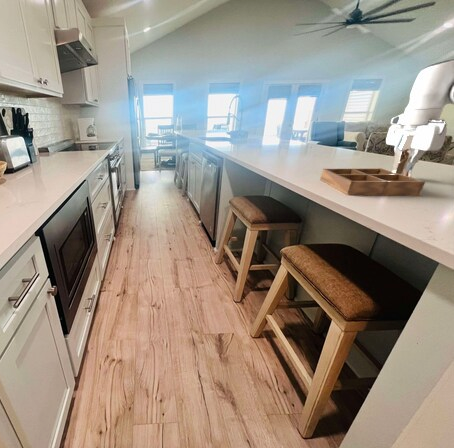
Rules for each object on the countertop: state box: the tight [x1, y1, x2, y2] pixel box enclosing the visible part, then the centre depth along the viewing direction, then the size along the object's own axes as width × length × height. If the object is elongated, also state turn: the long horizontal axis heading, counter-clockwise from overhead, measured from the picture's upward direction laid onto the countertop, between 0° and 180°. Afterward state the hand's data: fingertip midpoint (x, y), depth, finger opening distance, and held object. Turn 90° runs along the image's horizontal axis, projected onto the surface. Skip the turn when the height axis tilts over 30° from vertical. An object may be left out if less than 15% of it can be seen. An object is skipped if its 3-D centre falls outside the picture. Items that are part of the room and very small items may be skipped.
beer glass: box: [390, 134, 417, 178], centre depth 85 cm, size 7×7×15 cm
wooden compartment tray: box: [320, 167, 426, 197], centre depth 82 cm, size 19×19×4 cm
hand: (404, 160), depth 86 cm, fingers closed on beer glass, 6 cm apart
